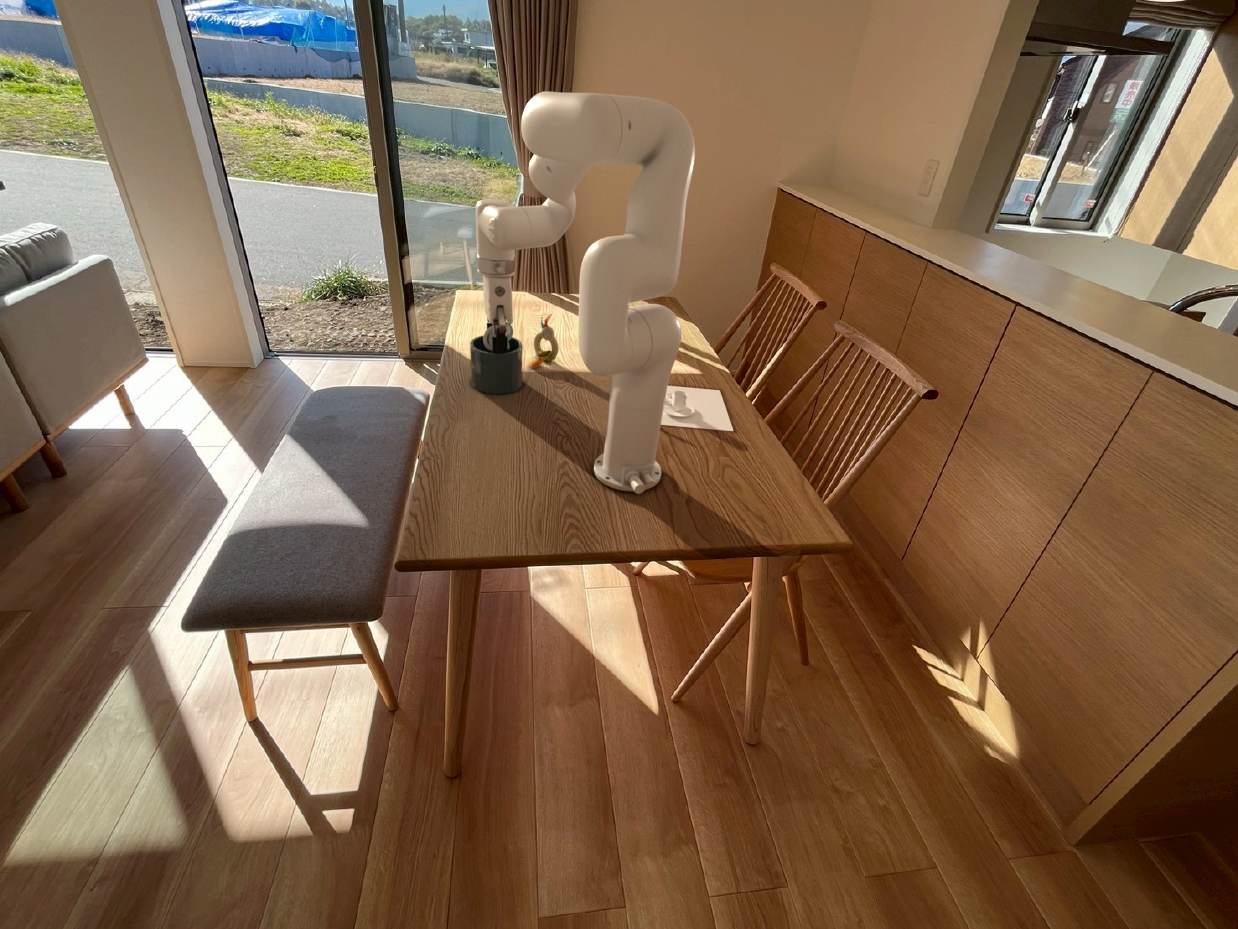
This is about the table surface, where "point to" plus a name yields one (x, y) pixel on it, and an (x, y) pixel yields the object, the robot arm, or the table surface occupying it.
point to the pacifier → (490, 330)
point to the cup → (496, 367)
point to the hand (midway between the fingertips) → (497, 346)
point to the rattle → (542, 355)
